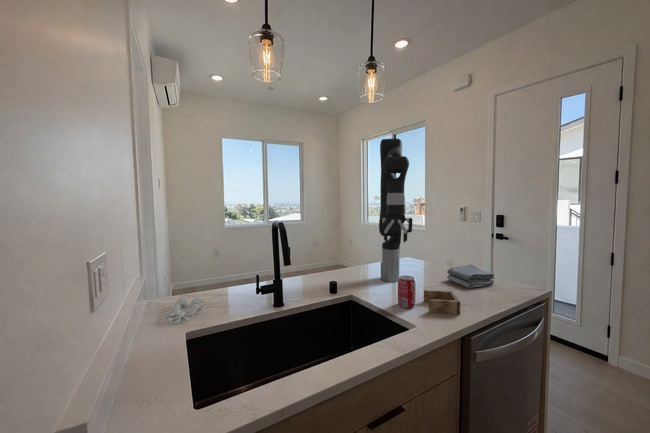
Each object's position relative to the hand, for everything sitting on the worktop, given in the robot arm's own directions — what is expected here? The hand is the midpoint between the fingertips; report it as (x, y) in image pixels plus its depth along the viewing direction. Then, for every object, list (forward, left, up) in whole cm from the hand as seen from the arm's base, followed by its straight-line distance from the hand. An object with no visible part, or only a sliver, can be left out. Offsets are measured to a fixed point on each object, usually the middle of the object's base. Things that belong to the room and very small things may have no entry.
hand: (395, 241), depth 120 cm
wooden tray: (+18, 0, -26) cm, 32 cm away
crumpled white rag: (-69, -52, -26) cm, 90 cm away
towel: (+28, +42, -26) cm, 57 cm away
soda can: (+6, -4, -26) cm, 27 cm away
